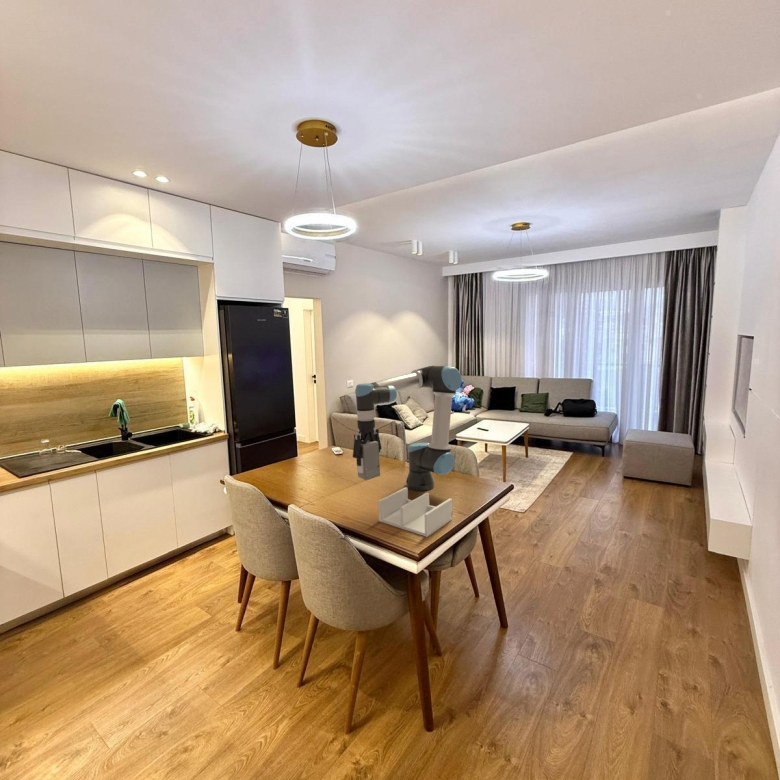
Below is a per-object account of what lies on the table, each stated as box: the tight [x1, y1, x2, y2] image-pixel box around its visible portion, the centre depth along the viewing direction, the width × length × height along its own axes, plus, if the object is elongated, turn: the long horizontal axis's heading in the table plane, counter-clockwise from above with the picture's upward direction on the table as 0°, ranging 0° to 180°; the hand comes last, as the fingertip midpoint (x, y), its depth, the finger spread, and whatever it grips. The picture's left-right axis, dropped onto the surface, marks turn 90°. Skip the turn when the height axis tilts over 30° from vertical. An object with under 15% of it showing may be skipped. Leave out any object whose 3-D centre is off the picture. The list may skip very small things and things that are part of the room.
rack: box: [377, 486, 453, 538], centre depth 176 cm, size 20×25×9 cm
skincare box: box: [356, 440, 381, 481], centre depth 179 cm, size 8×7×16 cm
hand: (368, 469), depth 179 cm, fingers closed on skincare box, 9 cm apart
